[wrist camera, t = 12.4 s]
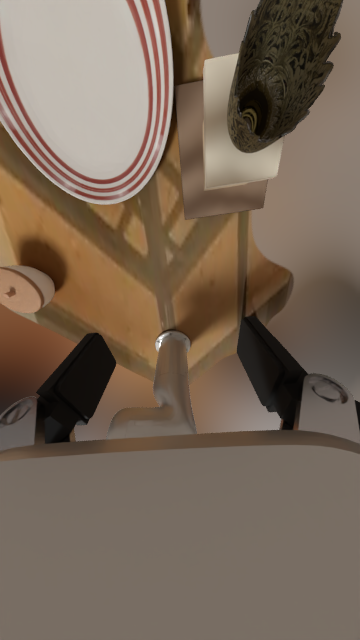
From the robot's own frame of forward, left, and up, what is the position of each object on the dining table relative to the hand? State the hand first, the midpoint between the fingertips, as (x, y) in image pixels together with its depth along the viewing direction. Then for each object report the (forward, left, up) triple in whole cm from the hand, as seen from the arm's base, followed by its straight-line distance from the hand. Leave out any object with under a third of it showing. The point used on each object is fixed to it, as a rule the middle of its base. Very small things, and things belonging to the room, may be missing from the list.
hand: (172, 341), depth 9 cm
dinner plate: (+26, +11, -31) cm, 42 cm away
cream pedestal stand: (+16, -11, -30) cm, 36 cm away
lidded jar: (-1, +37, -31) cm, 48 cm away
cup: (+16, -11, -20) cm, 28 cm away
